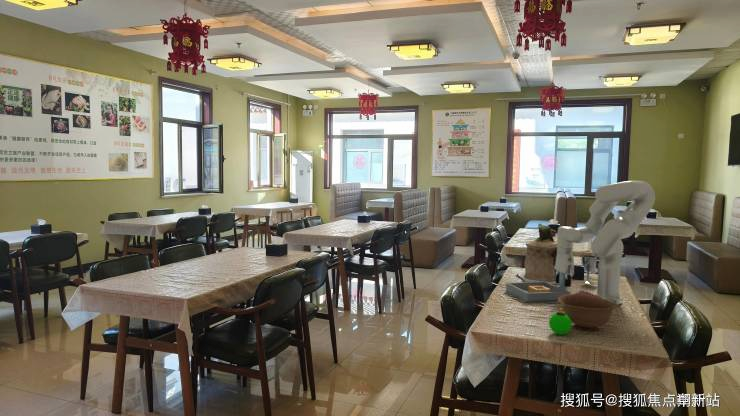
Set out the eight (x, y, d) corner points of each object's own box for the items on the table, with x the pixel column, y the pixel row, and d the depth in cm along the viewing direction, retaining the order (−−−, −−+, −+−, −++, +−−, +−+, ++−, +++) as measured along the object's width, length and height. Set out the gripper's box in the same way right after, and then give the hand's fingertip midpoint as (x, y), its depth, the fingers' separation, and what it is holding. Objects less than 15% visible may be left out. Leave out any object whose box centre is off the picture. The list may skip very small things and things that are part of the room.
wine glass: (580, 283, 276) (582, 256, 275) (579, 280, 284) (580, 254, 283) (596, 284, 274) (597, 257, 273) (594, 281, 282) (595, 255, 280)
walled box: (569, 301, 237) (570, 291, 237) (527, 302, 233) (527, 293, 233) (545, 290, 259) (545, 281, 259) (505, 291, 255) (506, 282, 255)
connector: (568, 293, 254) (569, 273, 253) (561, 293, 253) (562, 273, 252) (564, 291, 258) (565, 272, 257) (557, 291, 257) (558, 272, 256)
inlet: (550, 294, 246) (550, 289, 246) (536, 294, 245) (536, 289, 245) (542, 290, 254) (542, 285, 254) (528, 290, 253) (528, 286, 252)
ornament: (565, 331, 193) (567, 305, 192) (575, 338, 184) (576, 311, 184) (545, 330, 192) (546, 305, 191) (553, 337, 184) (554, 311, 183)
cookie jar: (526, 283, 274) (528, 226, 271) (514, 274, 298) (516, 221, 296) (571, 284, 273) (574, 226, 270) (556, 275, 297) (558, 222, 295)
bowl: (604, 320, 207) (606, 294, 206) (626, 338, 185) (628, 309, 184) (550, 318, 209) (551, 292, 208) (565, 335, 187) (566, 306, 186)
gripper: (581, 253, 246) (579, 288, 247) (561, 247, 263) (560, 280, 264) (567, 253, 244) (566, 289, 246) (548, 248, 262) (547, 281, 263)
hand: (563, 284), depth 255 cm, fingers open, 7 cm apart
